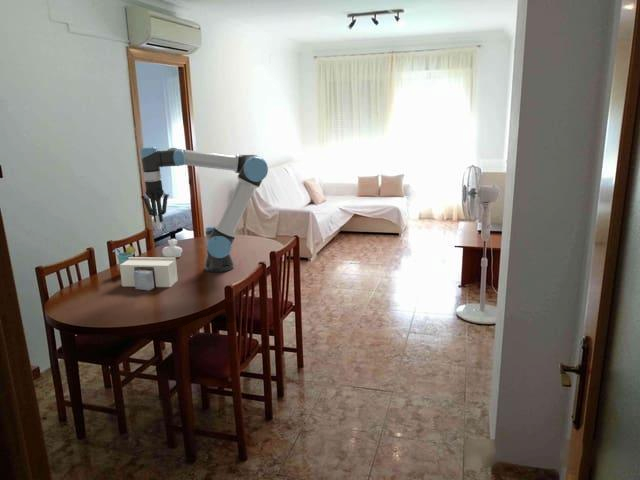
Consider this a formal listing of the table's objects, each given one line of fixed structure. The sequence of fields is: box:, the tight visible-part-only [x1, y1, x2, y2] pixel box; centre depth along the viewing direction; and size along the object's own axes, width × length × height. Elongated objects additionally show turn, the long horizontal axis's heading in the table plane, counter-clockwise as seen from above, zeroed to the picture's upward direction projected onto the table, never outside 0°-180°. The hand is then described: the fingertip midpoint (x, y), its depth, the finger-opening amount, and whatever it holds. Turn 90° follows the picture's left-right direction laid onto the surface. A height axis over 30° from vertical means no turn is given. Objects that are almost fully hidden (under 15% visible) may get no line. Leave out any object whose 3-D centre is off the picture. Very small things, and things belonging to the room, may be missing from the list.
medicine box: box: [134, 270, 155, 291], centre depth 237 cm, size 8×4×9 cm, turn 68°
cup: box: [111, 245, 136, 265], centre depth 258 cm, size 14×8×15 cm, turn 157°
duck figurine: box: [161, 238, 183, 258], centre depth 291 cm, size 12×8×11 cm
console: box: [119, 256, 179, 288], centre depth 244 cm, size 24×10×12 cm, turn 84°
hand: (159, 228), depth 242 cm, fingers closed
